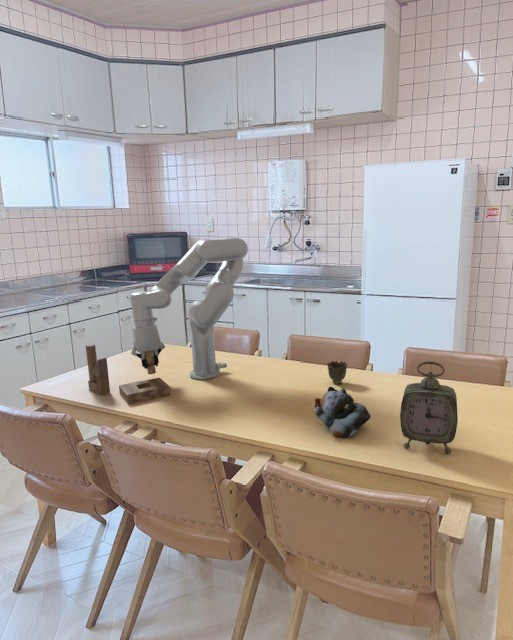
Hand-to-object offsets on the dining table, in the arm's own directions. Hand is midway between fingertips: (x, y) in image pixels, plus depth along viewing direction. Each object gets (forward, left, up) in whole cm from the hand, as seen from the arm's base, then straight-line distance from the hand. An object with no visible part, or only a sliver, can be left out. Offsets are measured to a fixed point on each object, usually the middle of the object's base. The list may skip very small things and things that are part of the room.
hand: (150, 366), depth 197 cm
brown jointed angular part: (+20, -2, -7) cm, 22 cm away
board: (+6, +12, -7) cm, 15 cm away
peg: (0, 0, -3) cm, 3 cm away
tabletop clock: (-50, +98, -7) cm, 110 cm away
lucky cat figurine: (-37, +76, -7) cm, 85 cm away
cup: (-61, +43, -7) cm, 75 cm away
